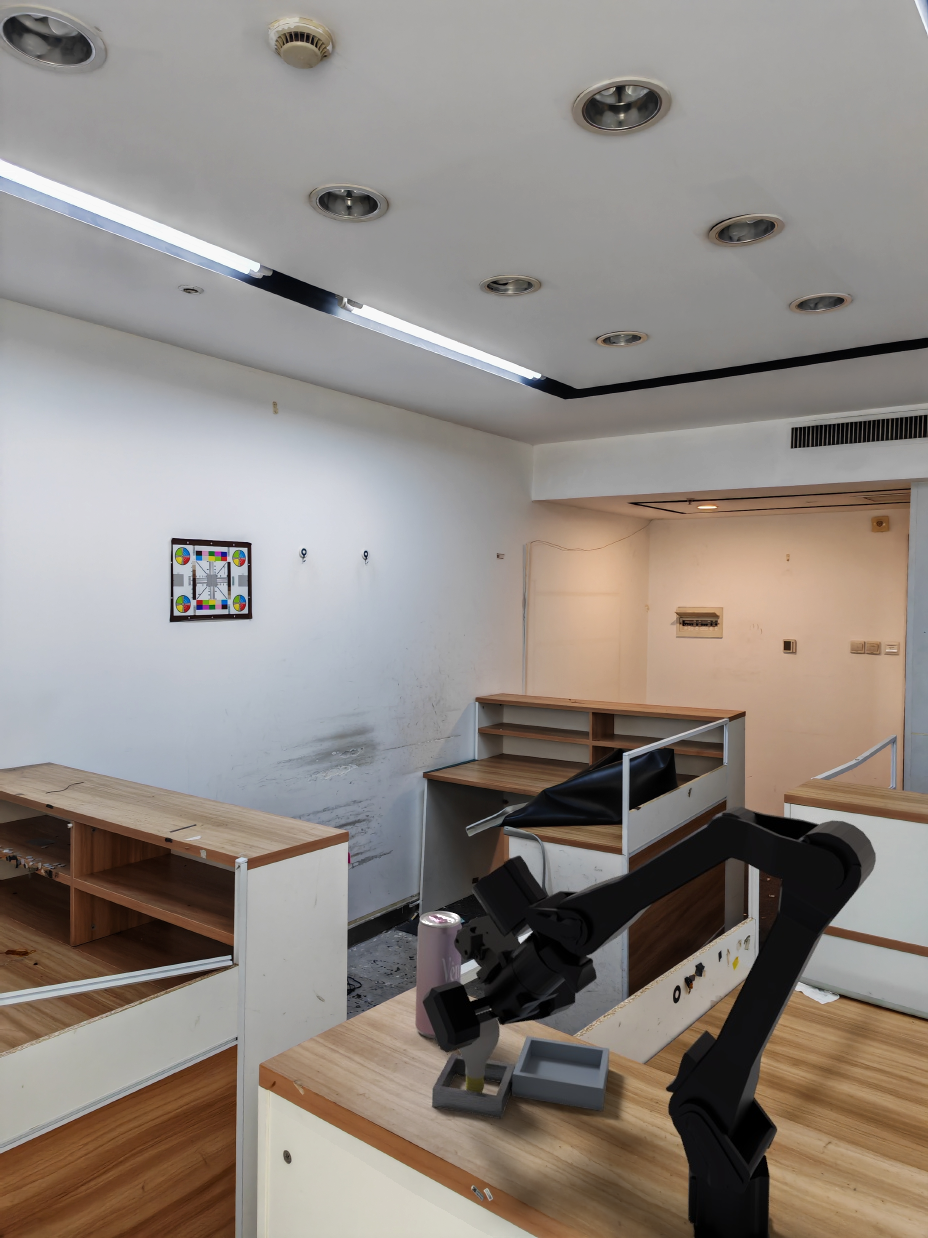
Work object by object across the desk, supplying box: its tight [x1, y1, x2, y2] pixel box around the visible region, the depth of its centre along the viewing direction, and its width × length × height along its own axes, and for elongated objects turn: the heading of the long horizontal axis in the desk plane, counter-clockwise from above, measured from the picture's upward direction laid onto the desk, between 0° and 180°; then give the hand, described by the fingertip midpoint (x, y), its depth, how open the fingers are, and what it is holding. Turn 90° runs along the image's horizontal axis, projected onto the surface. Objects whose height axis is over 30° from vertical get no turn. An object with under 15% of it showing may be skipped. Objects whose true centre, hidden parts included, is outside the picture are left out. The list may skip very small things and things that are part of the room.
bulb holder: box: [431, 1053, 516, 1119], centre depth 95 cm, size 8×8×2 cm
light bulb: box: [458, 1009, 500, 1093], centre depth 95 cm, size 6×6×10 cm
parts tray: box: [511, 1035, 610, 1112], centre depth 98 cm, size 10×9×2 cm
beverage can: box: [414, 910, 463, 1039], centre depth 110 cm, size 6×6×15 cm
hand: (469, 1030), depth 96 cm, fingers open, 9 cm apart
